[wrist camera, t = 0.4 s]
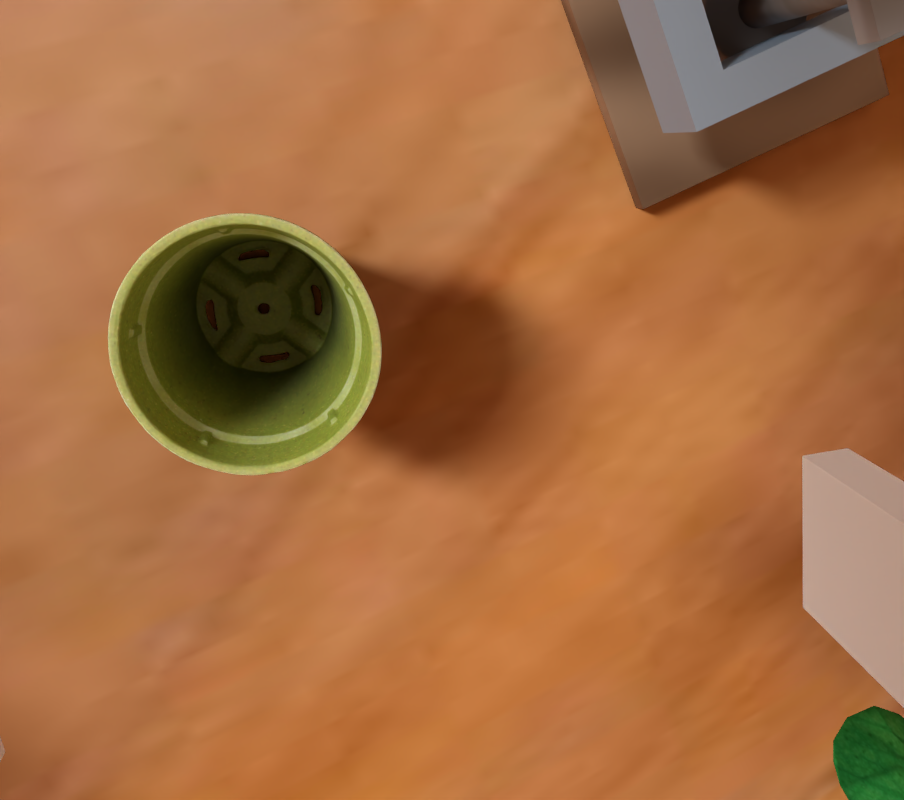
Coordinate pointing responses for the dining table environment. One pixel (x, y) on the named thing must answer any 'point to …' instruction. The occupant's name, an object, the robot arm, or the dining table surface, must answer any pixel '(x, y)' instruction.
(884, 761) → the potted plant
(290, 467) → the plant pot
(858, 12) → the lever on base
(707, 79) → the grey slotted block
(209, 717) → the dining table surface
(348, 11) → the dining table surface
